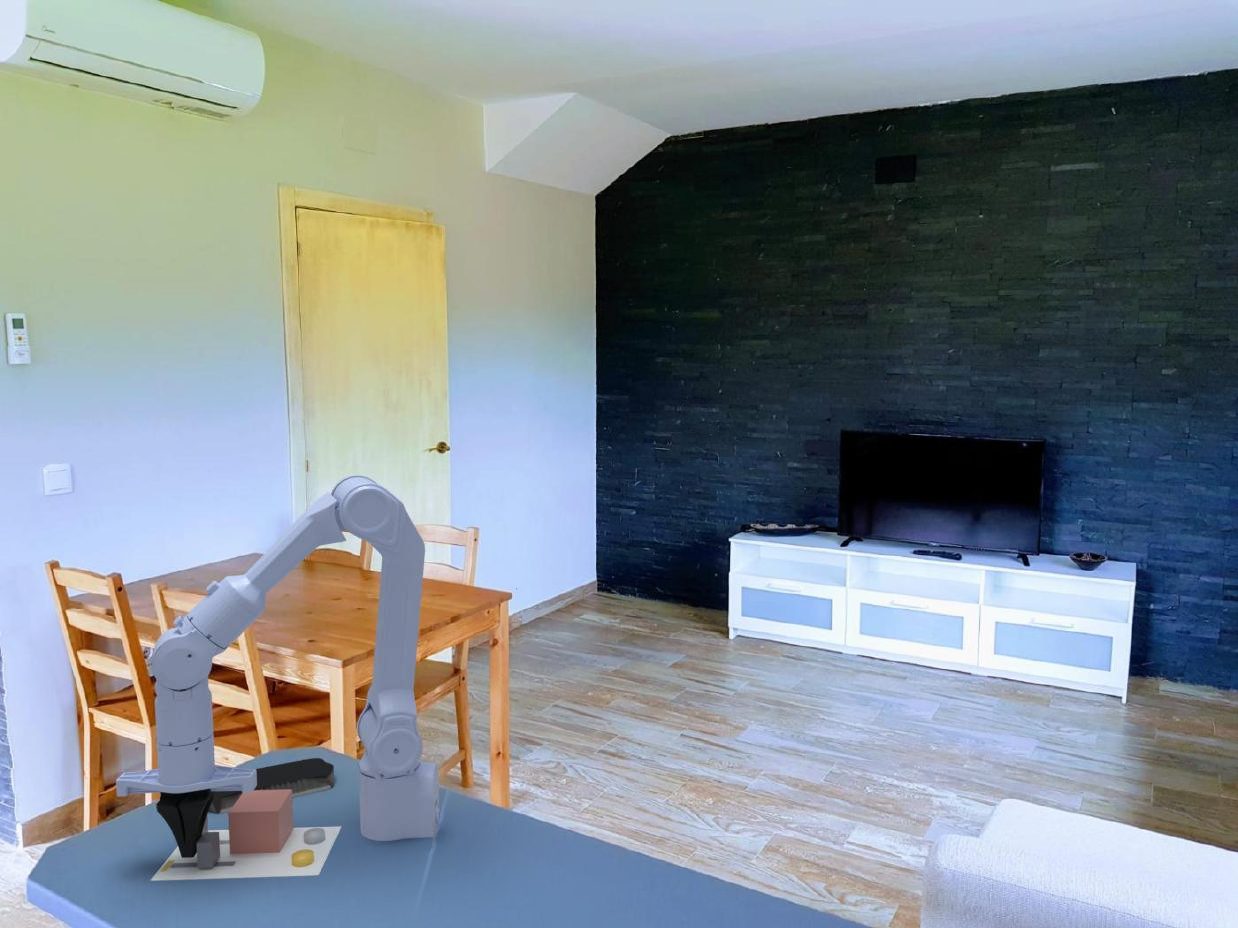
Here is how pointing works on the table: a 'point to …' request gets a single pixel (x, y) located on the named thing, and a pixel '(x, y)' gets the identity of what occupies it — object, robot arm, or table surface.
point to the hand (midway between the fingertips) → (190, 853)
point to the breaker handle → (208, 850)
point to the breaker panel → (257, 858)
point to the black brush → (283, 781)
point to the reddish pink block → (261, 821)
